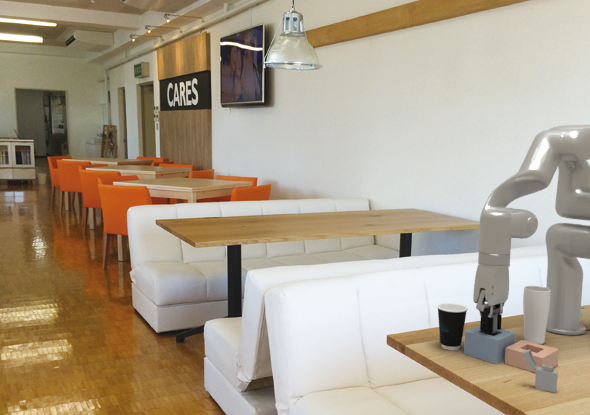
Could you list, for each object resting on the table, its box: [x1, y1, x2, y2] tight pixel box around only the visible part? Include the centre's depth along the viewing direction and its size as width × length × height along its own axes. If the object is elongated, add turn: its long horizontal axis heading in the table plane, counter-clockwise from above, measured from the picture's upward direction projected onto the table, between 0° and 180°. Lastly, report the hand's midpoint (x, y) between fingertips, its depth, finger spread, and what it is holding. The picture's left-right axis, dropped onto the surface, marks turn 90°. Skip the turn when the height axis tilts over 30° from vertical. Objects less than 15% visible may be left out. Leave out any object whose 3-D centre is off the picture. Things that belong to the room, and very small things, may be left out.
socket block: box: [463, 325, 516, 365], centre depth 138 cm, size 9×9×6 cm
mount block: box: [504, 339, 560, 374], centre depth 132 cm, size 9×9×4 cm
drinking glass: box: [522, 285, 551, 345], centre depth 148 cm, size 7×7×15 cm
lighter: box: [523, 349, 559, 394], centre depth 119 cm, size 7×2×8 cm, turn 56°
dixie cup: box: [436, 302, 469, 351], centre depth 143 cm, size 8×8×11 cm
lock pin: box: [484, 306, 500, 336], centre depth 138 cm, size 4×4×12 cm
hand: (490, 329), depth 138 cm, fingers open, 3 cm apart
